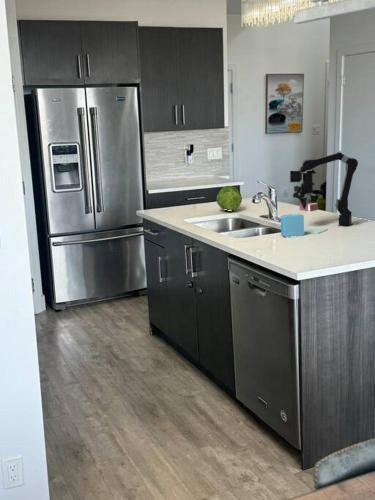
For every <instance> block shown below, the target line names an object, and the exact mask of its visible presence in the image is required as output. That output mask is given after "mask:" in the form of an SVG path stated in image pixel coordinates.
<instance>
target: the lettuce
mask: <svg viewBox="0 0 375 500" xmlns="http://www.w3.org/2000/svg"><path fill="white" fill-rule="evenodd" d="M242 200H243V196H242V194H241V192H240V191H239V190H238V189H237V188H236V187H234V186H231V185H226V186H224V187H222V188H221V189H220V190H219V191H218V194H216V203H217V205H218V206H219V208H221V209H222V210H223V209H227V210H234V209H236V210H238V208H239V207H240V206H241V204H242V202H243V201H242ZM234 211H235V210H234Z"/></svg>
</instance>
